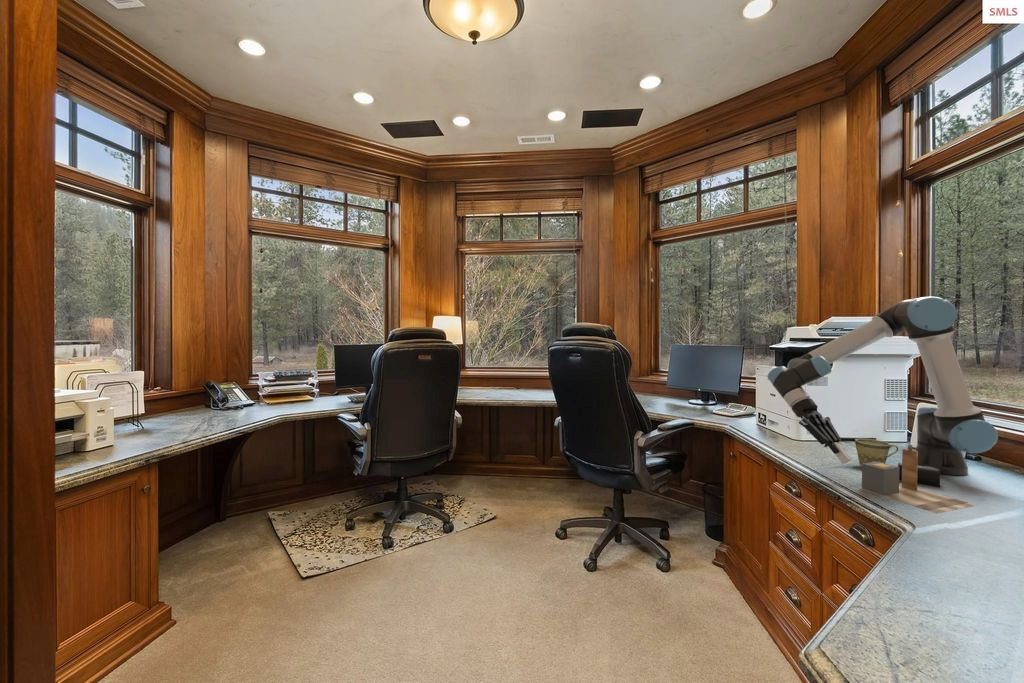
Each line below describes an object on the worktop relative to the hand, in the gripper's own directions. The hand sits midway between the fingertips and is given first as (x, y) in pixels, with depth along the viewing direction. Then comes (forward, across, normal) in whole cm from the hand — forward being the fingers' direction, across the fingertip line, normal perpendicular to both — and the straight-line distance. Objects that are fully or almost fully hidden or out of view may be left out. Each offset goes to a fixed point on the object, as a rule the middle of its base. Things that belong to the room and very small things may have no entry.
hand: (846, 461), depth 140 cm
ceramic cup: (-1, -29, -11) cm, 31 cm away
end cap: (+11, -23, 0) cm, 25 cm away
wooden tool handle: (+12, -13, +3) cm, 18 cm away
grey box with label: (+11, -1, +2) cm, 12 cm away
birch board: (+17, -6, +6) cm, 19 cm away
